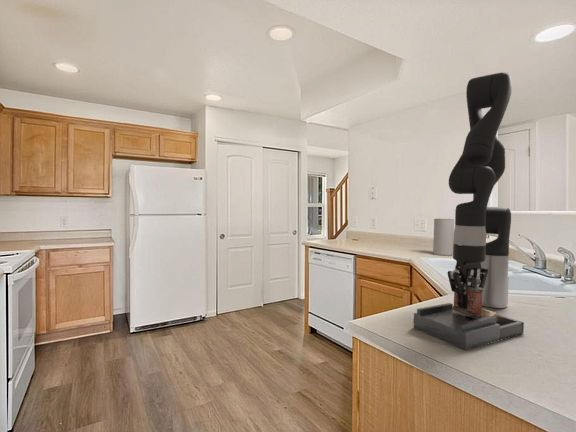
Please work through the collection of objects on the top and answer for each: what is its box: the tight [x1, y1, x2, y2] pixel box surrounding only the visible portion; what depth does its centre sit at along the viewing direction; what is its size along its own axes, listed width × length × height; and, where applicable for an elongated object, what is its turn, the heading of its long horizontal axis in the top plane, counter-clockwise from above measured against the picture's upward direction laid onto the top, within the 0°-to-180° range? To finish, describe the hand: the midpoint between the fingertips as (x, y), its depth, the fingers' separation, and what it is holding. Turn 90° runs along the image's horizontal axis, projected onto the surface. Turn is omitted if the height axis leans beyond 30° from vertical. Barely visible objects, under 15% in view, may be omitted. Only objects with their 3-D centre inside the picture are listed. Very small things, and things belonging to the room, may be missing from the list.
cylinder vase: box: [432, 218, 455, 257], centre depth 226 cm, size 12×12×25 cm
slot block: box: [413, 302, 500, 351], centre depth 84 cm, size 13×15×6 cm
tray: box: [496, 314, 525, 341], centre depth 89 cm, size 10×15×3 cm
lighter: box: [453, 278, 483, 318], centre depth 86 cm, size 8×3×10 cm, turn 21°
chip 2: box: [482, 307, 498, 322], centre depth 89 cm, size 4×4×2 cm
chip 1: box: [481, 308, 490, 319], centre depth 87 cm, size 4×4×2 cm
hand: (467, 306), depth 86 cm, fingers closed on lighter, 3 cm apart
